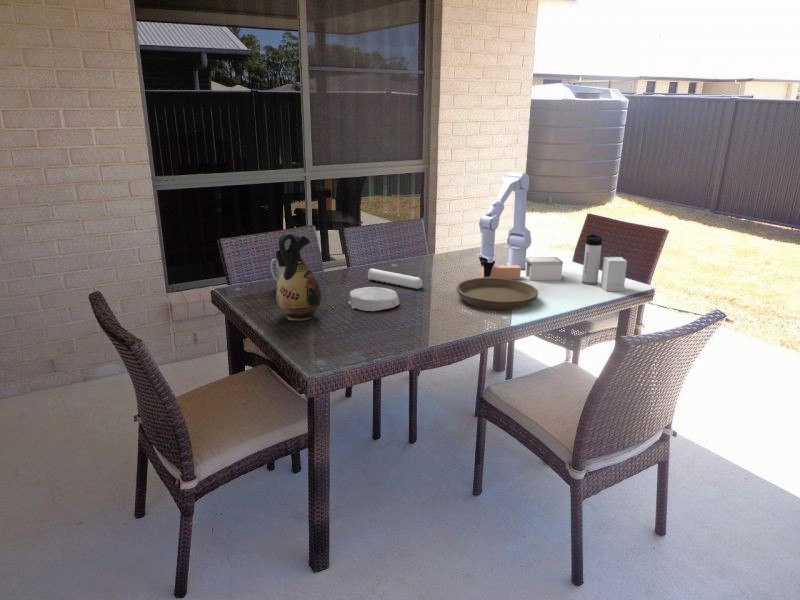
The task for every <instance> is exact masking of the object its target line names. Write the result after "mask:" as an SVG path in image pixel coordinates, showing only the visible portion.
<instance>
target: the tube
mask: <svg viewBox="0 0 800 600" xmlns="http://www.w3.org/2000/svg"><path fill="white" fill-rule="evenodd" d="M367 279H368V280H370V281H374V280H375V281H374V282H379V281H380V283H384V282H385V284H389V283H390V284H391V285H394V284H395V286H399V285H400V287H404V288H410V289H414V288H415V290H419V289H421V288H422V287H423V285H424V284H423V279H421V278H420V277H419V276H413V275H407V274H403V273H397V272H394V271H393V272H392V271H386V270H382V269H376V268H374V267H373V268H369V269H368V272H367Z"/></svg>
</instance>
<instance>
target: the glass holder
mask: <svg viewBox="0 0 800 600" xmlns="http://www.w3.org/2000/svg"><path fill="white" fill-rule="evenodd" d="M287 250H288V249H286V251H287ZM287 254H288V257H289V259H290V256H291V253H289V252H287ZM274 261H275V263H276V264H275V267H276V268H275V269H276V271H275V272H276V276H275V273H274V269H273V263H274ZM284 269H285V262H284V261H283V257H282V254H281V252H280V250H276V251H275V258H272V260H271V261H270V271H271V275H272V278H273V279H274V280H276V283H277V284H278V281H279V279H280V276H281V274H282V273H283V271H284Z"/></svg>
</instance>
